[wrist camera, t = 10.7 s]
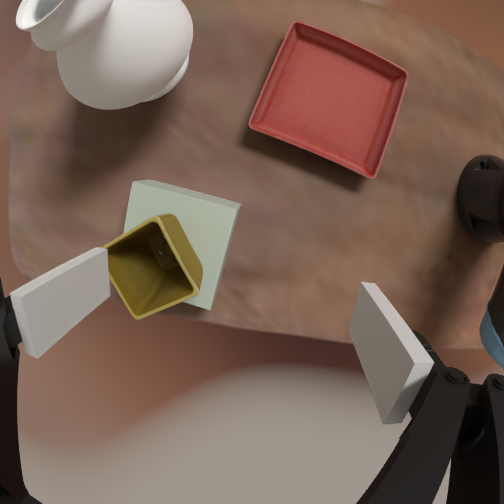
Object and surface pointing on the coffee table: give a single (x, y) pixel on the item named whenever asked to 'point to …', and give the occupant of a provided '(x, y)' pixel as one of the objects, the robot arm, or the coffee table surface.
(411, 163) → the coffee table surface
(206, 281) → the sage block
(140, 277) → the flower pot
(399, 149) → the coffee table surface
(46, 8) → the decorative vase
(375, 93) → the plant saucer
